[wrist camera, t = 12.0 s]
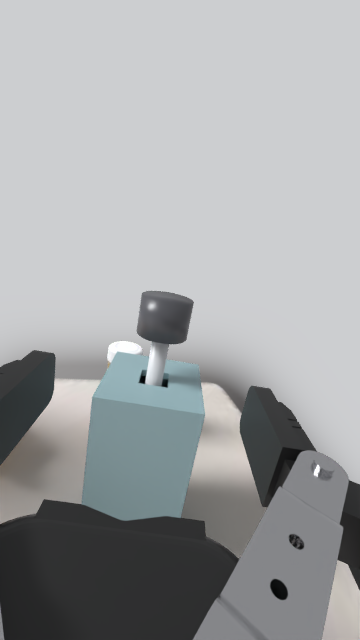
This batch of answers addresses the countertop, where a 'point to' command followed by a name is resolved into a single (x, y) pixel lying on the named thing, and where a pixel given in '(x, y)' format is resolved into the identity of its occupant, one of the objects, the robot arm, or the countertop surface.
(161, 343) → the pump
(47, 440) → the countertop surface
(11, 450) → the robot arm
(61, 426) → the countertop surface
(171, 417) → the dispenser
